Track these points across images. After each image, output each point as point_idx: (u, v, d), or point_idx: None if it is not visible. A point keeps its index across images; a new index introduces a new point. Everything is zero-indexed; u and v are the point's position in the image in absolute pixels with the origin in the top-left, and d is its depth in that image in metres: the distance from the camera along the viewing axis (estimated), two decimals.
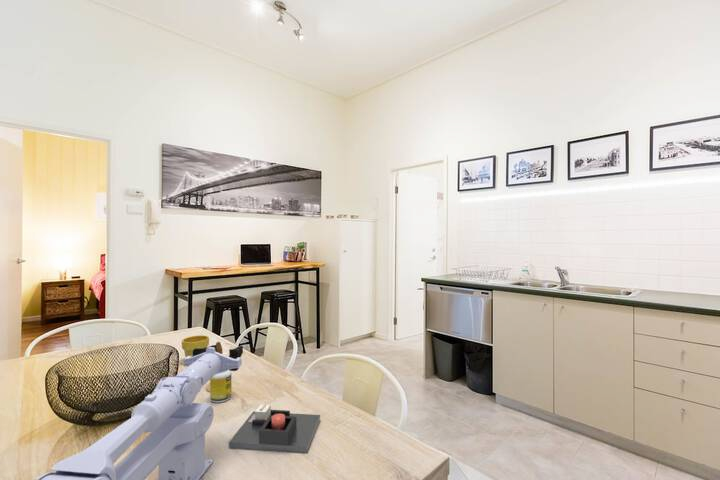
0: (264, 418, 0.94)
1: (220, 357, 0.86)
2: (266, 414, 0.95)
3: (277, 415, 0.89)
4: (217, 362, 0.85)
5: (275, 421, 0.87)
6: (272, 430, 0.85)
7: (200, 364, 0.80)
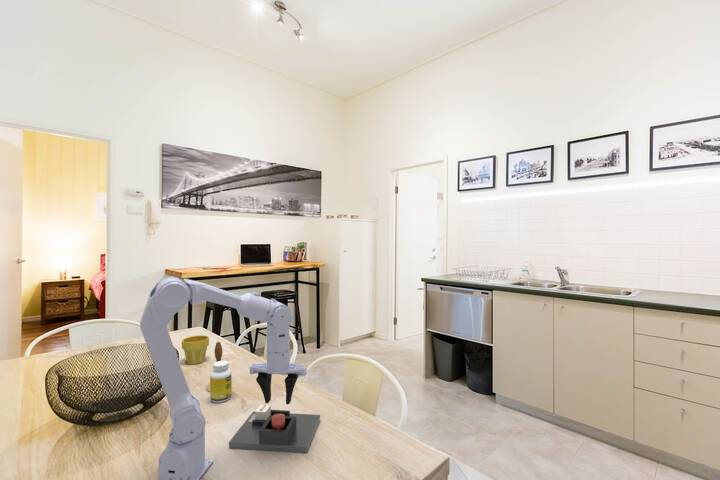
0: (264, 418, 0.94)
1: (289, 365, 0.90)
2: (266, 414, 0.95)
3: (277, 415, 0.89)
4: (289, 359, 0.89)
5: (275, 421, 0.87)
6: (272, 430, 0.85)
7: (289, 342, 0.89)
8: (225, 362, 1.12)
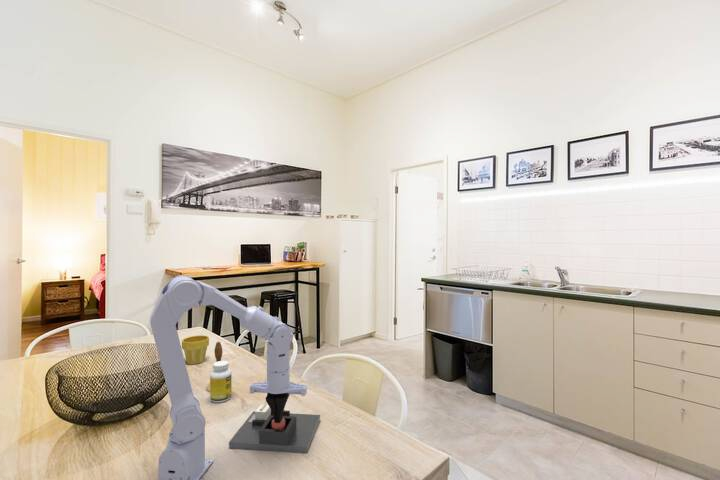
0: (264, 418, 0.94)
1: (290, 383, 0.90)
2: (266, 414, 0.95)
3: None
4: (289, 378, 0.89)
5: (275, 425, 0.87)
6: (272, 430, 0.85)
7: (289, 361, 0.89)
8: (225, 362, 1.12)
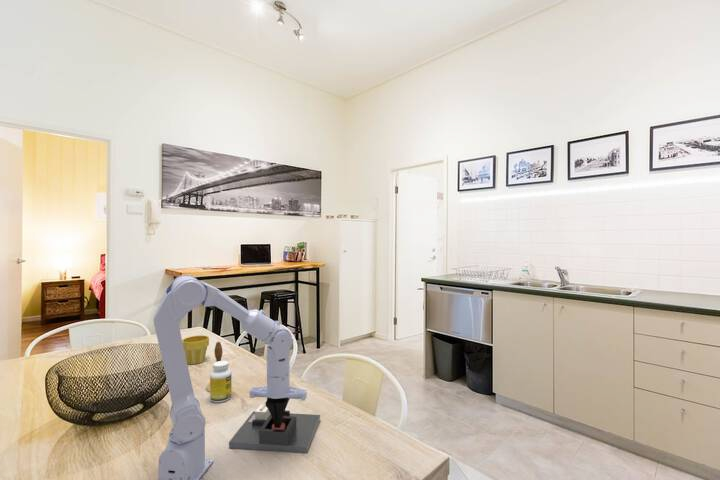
0: (264, 418, 0.94)
1: (289, 388, 0.90)
2: (266, 414, 0.95)
3: None
4: (289, 383, 0.89)
5: None
6: (272, 430, 0.85)
7: (289, 365, 0.89)
8: (225, 362, 1.12)
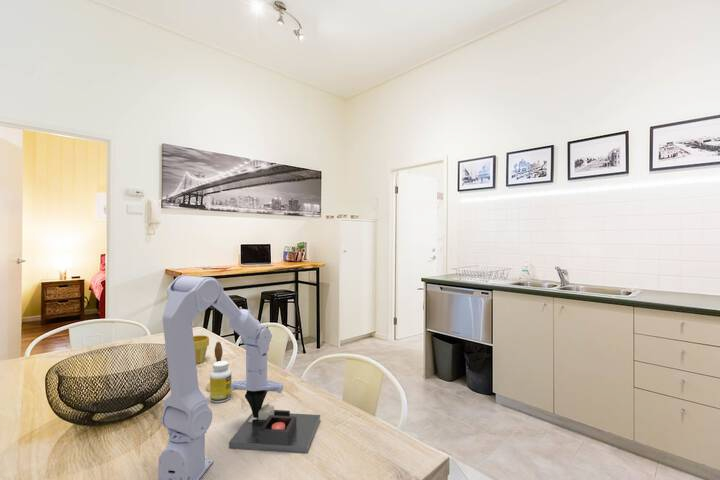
0: None
1: (267, 381, 0.98)
2: (269, 415, 0.95)
3: (277, 424, 0.89)
4: None
5: None
6: (272, 430, 0.85)
7: None
8: (225, 362, 1.12)
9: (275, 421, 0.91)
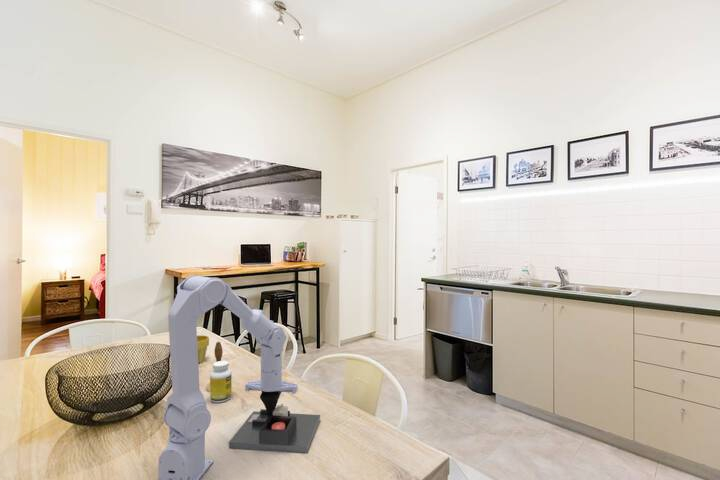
0: None
1: (282, 382, 0.97)
2: (283, 415, 0.94)
3: (277, 424, 0.89)
4: (281, 377, 0.97)
5: None
6: (272, 430, 0.85)
7: None
8: (225, 362, 1.12)
9: (275, 421, 0.91)
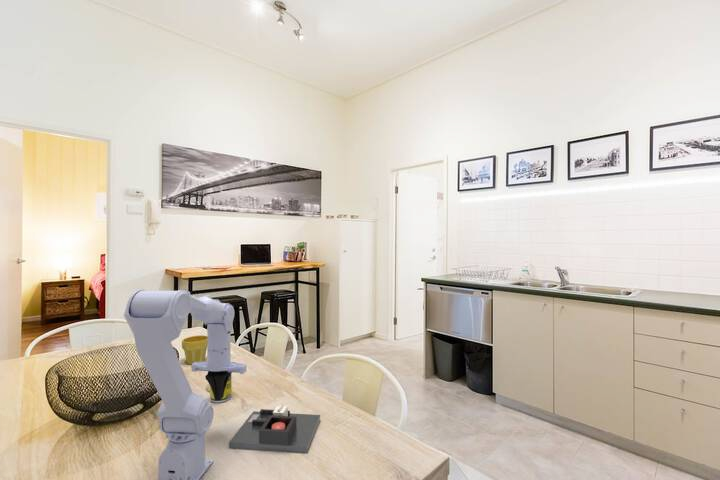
0: None
1: (231, 363, 0.93)
2: (283, 415, 0.94)
3: (277, 424, 0.89)
4: None
5: None
6: (272, 430, 0.85)
7: None
8: None
9: (275, 421, 0.91)
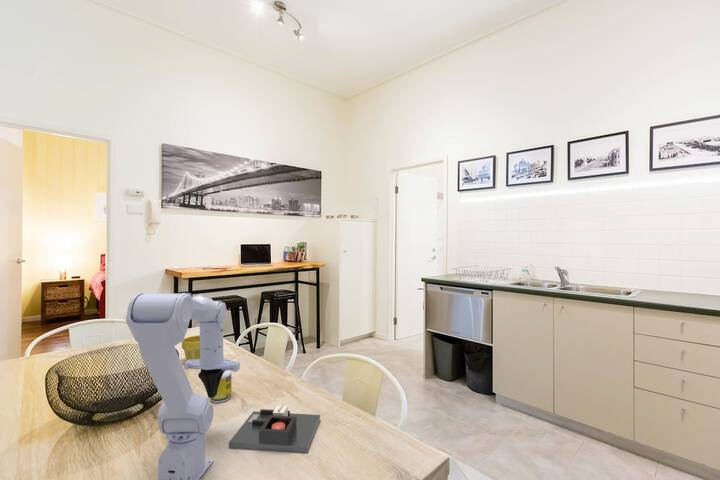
0: None
1: (224, 360, 0.93)
2: (283, 415, 0.94)
3: (277, 424, 0.89)
4: None
5: None
6: (272, 430, 0.85)
7: None
8: None
9: (275, 421, 0.91)
